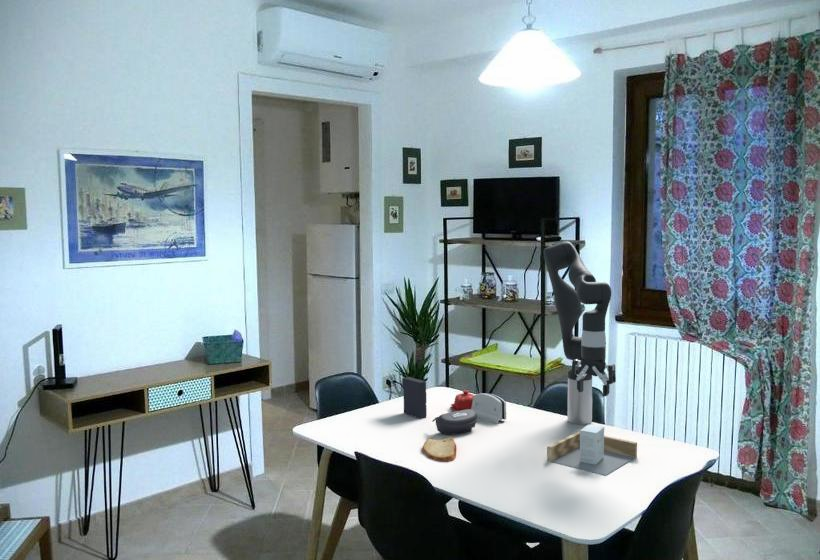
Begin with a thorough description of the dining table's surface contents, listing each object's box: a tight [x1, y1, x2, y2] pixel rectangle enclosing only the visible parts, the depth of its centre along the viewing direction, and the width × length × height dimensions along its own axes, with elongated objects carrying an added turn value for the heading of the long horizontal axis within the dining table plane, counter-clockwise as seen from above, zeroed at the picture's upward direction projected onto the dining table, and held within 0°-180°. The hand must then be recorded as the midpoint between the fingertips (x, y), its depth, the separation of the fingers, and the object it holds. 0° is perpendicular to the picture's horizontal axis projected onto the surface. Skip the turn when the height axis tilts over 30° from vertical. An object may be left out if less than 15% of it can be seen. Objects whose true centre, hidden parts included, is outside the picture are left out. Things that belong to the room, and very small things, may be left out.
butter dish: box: [450, 389, 475, 412], centre depth 287 cm, size 12×12×8 cm
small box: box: [579, 424, 605, 465], centre depth 223 cm, size 8×6×10 cm
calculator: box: [401, 376, 428, 420], centre depth 278 cm, size 11×4×15 cm, turn 39°
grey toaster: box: [471, 392, 507, 424], centre depth 274 cm, size 17×5×10 cm, turn 38°
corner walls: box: [546, 430, 638, 463], centre depth 225 cm, size 22×20×5 cm
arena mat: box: [550, 447, 636, 477], centre depth 225 cm, size 21×19×1 cm
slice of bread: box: [422, 436, 457, 463], centre depth 234 cm, size 18×18×4 cm
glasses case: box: [431, 409, 479, 435], centre depth 256 cm, size 18×10×8 cm, turn 124°
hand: (593, 393), depth 222 cm, fingers open, 8 cm apart
